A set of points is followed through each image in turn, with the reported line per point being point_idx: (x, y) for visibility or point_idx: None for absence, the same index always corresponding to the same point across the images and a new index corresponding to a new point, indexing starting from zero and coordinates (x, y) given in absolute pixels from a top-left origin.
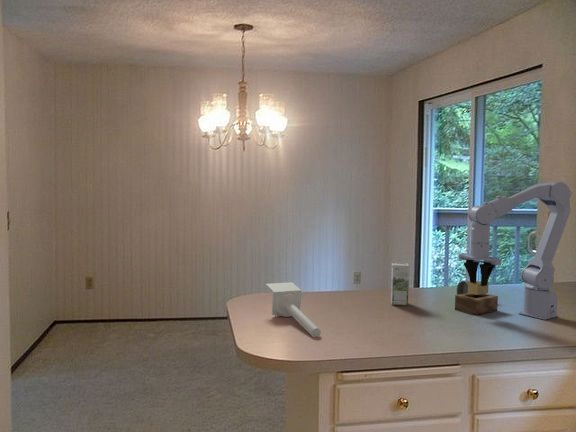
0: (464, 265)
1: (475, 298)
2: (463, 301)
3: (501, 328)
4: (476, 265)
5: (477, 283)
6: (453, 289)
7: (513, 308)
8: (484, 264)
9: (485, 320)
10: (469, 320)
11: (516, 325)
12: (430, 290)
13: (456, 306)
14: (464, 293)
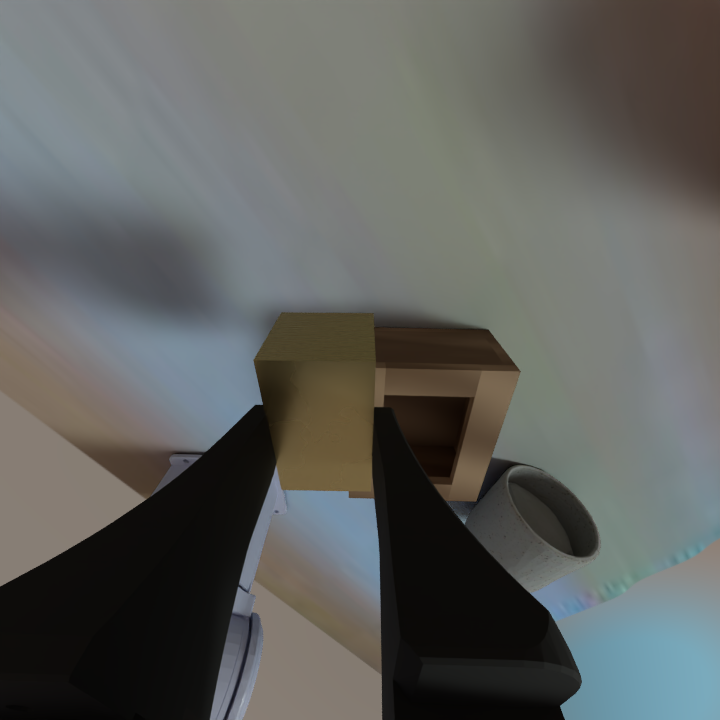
0: (523, 590)
1: (385, 390)
2: (449, 355)
3: (100, 191)
4: (383, 664)
5: (292, 398)
6: (626, 560)
7: (340, 500)
8: (38, 706)
9: (264, 271)
10: (305, 191)
11: (136, 311)
12: (711, 511)
13: (484, 337)
14: (542, 505)
